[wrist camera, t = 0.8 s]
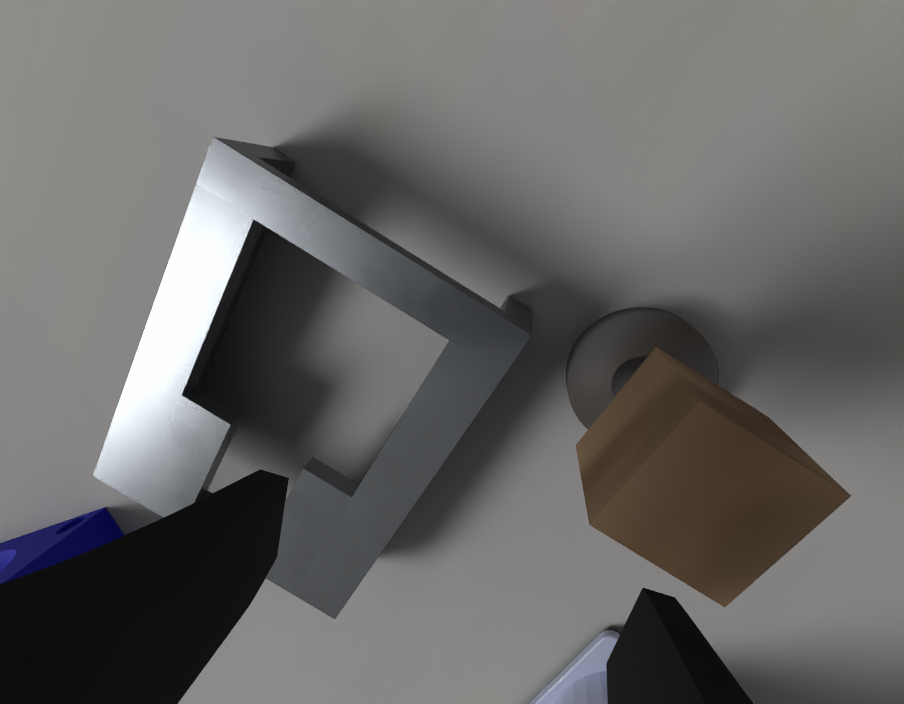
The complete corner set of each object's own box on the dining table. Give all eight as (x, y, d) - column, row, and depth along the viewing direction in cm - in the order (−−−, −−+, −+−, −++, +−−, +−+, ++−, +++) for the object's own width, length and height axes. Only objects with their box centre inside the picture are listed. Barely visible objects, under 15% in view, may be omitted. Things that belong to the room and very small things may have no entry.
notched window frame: (532, 309, 18) (531, 335, 15) (362, 558, 23) (334, 619, 19) (271, 146, 17) (212, 136, 14) (156, 435, 22) (92, 476, 19)
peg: (740, 355, 17) (909, 489, 9) (648, 458, 19) (728, 641, 11) (620, 280, 17) (693, 354, 9) (539, 390, 19) (544, 529, 11)
